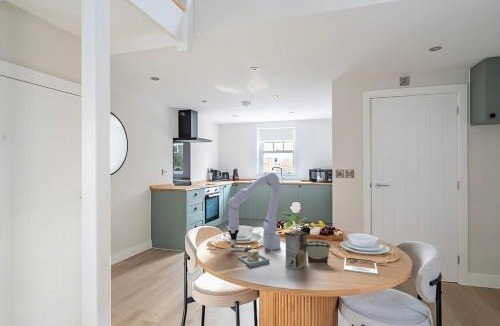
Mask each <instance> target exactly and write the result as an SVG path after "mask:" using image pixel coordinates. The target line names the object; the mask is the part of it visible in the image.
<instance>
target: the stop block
mask: <svg viewBox="0 0 500 326" xmlns="http://www.w3.org/2000/svg"><path fill="white" fill-rule="evenodd" d="M259 252H260V251H259V250H257V249H254V248H253V249H252V250H248V253H246V255H247V258H246V259H247V260H246V261H248V262H251V263H252V262H256V261H260V259H259V258H260V257H259V254H260V253H259Z"/></svg>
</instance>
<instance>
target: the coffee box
mask: <svg viewBox="0 0 500 326" xmlns="http://www.w3.org/2000/svg"><path fill="white" fill-rule="evenodd" d="M307 242H308V241H307V232H305V231H302V230H293V231H290V232H286V233H285V267H287V268H289V269H292V270H295V271H296V270H298V269H301V268H303V267H305V266H306V265H307V263H308V256H307Z"/></svg>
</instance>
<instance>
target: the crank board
mask: <svg viewBox="0 0 500 326" xmlns="http://www.w3.org/2000/svg"><path fill="white" fill-rule="evenodd" d="M244 246H247V245H246V244H245V245H244ZM252 249H254V248H253V247H252V248H251V249H244V248H231V247H226V248H222V250H223V251H224V252H226V253H228V254H230V255H231V256H241V255H246V254H247V253H248V250H252Z"/></svg>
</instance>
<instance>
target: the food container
mask: <svg viewBox="0 0 500 326" xmlns="http://www.w3.org/2000/svg"><path fill="white" fill-rule="evenodd" d="M330 248H331V245H330V243H329V242H327V241H324V240H308V241H307V263H308V264H314V265H328V263H329V255H330V254H329V253H330V252H329V251H330Z"/></svg>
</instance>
